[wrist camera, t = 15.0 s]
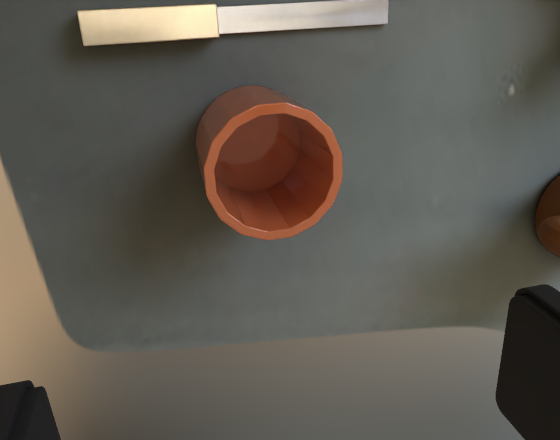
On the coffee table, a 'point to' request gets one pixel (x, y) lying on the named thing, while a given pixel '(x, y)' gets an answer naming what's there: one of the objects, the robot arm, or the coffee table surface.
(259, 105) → the pot
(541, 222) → the mug
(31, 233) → the coffee table surface
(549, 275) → the coffee table surface
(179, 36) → the knife
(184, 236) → the coffee table surface
